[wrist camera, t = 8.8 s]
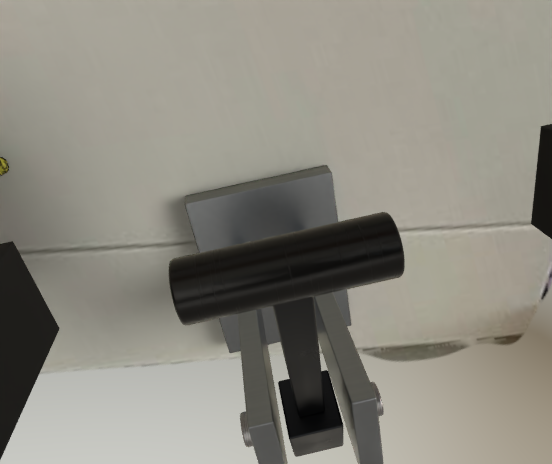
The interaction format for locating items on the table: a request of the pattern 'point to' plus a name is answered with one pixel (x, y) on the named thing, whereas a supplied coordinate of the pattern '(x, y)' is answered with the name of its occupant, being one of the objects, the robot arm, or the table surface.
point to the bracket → (261, 323)
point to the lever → (292, 303)
